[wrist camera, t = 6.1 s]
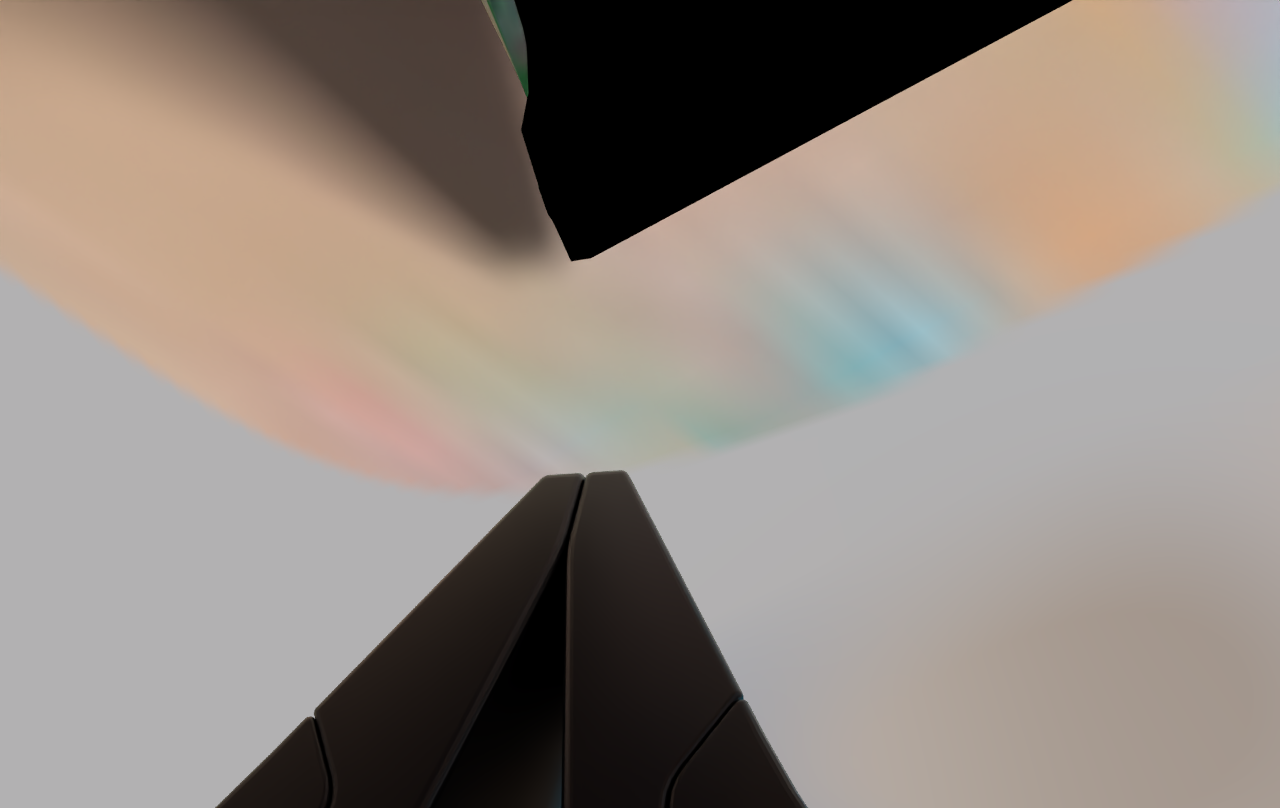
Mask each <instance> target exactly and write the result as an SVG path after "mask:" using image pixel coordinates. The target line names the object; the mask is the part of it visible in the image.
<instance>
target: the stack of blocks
mask: <svg viewBox="0 0 1280 808" xmlns="http://www.w3.org/2000/svg"><path fill="white" fill-rule="evenodd" d="M481 1H482V3H483V5H484V7H485V9H486V11H487V13H488V15H489V18H490V20H491V22H492V24H493V26H494V28H495V30H496V32H497V34H498V36H499V38H500V40H501V42H502V44H503V46H504V49H505V51H506V53H507V55H508V57H509V59H510V61H511V63H512V65H513V67H514V69H515V71H516V73H517V75H518V78H519V80H520V82H521V84H522V87H523V89H524V92H525V94H526V96H527V102H526V107H525V113H524V118H523V123H522V128H521V131H522V135H523V138H524V141H525V144H526V147H527V151H528V154H529V157H530V160H531V163H532V166H533V170H534V173H535V176H536V179H537V182H538V187H539V191H540V193H541V196H542V199H543V202H544V205H545V207H546V210H547V213H548V215H549V216H550V218H551V219H552V221H553V223H554V225H555V227H556V229H557V231H558V234H559V236H560V238H561V240H562V242H563V245H564V247H565V249H566V251H567V253H568V256H569V258H570V260H571V261H576V260H583V259H589V258H592V257H594V256H596V255H598V254H600V253H602V252H603V251H605V250H607V249H609V248H611V247H613V246H615V245H616V244H618V243H620V242H622V241H624V240H626V239H628V238H629V237H631V236H633V235H635V234H637V233H639V232H641V231H643V230H644V229H646V228H648V227H650V226H652V225H654V224H656V223H657V222H659V221H661V220H663V219H665V218H667V217H669V216H670V215H672V214H674V213H676V212H678V211H680V210H682V209H684V208H685V207H687V206H689V205H691V204H693V203H695V202H697V201H698V200H700V199H702V198H704V197H706V196H708V195H710V194H711V193H713V192H715V191H717V190H719V189H721V188H723V187H725V186H726V185H728V184H730V183H732V182H734V181H736V180H738V179H739V178H741V177H743V176H745V175H747V174H749V173H751V172H753V171H754V170H756V169H758V168H760V167H762V166H764V165H766V164H767V163H769V162H771V161H773V160H775V159H777V158H779V157H780V156H782V155H784V154H786V153H788V152H790V151H792V150H794V149H795V148H797V147H799V146H801V145H803V144H805V143H807V142H808V141H810V140H812V139H814V138H816V137H818V136H820V135H821V134H823V133H825V132H827V131H829V130H831V129H833V128H835V127H836V126H838V125H840V124H842V123H844V122H846V121H848V120H849V119H851V118H853V117H855V116H857V115H859V114H861V113H862V112H864V111H866V110H868V109H870V108H872V107H874V106H876V105H877V104H879V103H881V102H883V101H885V100H887V99H889V98H891V97H892V96H894V95H896V94H898V93H900V92H902V91H904V90H906V89H907V88H909V87H911V86H913V85H915V84H917V83H919V82H921V81H922V80H924V79H926V78H928V77H930V76H932V75H934V74H935V73H937V72H939V71H941V70H943V69H945V68H947V67H949V66H950V65H952V64H954V63H956V62H958V61H960V60H962V59H964V58H965V57H967V56H969V55H971V54H973V53H975V52H977V51H979V50H980V49H982V48H984V47H986V46H988V45H990V44H992V43H993V42H995V41H997V40H999V39H1001V38H1003V37H1005V36H1007V35H1008V34H1010V33H1012V32H1014V31H1016V30H1018V29H1020V28H1022V27H1023V26H1025V25H1027V24H1029V23H1031V22H1033V21H1035V20H1037V19H1038V18H1040V17H1042V16H1044V15H1046V14H1048V13H1050V12H1052V11H1053V10H1055V9H1057V8H1059V7H1061V6H1063V5H1065V4H1066V3H1068V2H1070V1H1072V0H481Z"/></svg>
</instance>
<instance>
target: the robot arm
mask: <svg viewBox="0 0 1280 808" xmlns="http://www.w3.org/2000/svg"><path fill="white" fill-rule="evenodd" d="M314 716H315V718H313V717H307V718H305V720H303V721H302V722H301V723H300V725H299V726H298V727H297V728H296V729H295V730H294V731H293V732H292V733H291V734H290V735H289V736H288V737H287V738H286V739H285V740H284V741H283V742H282V743H281V744H280V745H279V746H278V747H277V748H276V749H275V750H274V751H273V752H272V753H271V754H270V755H269V756H268V757H267V758H266V759H265V760H264V761H263V762H262V763H261V764H260V765H259V766H258V767H257V768H256V769H255V770H253V772H251V773H250V774H249V775H248V776H247V777H246V778H245V779H244V780H243V781H242V782H241V783H240V784H239V785H238V786H237V787H236V788H235V789H234V790H233V791H232V792H231V793H230V794H229V795H228V796H227V797H226V798H225V799H224V800H223V801H222V802H221V803H220V804H219V805H218V806H217V807H215V808H808V807H807V806H806V804H805V803H804V801H803V800H802V799H801V797H800V795H799V794H798V792H797V791H796V789H795V787H794V785H793V784H792V782H791V780H790V778H789V777H788V775H787V773H786V771H785V770H784V768H783V767H782V764H781V763H780V761H779V759H778V757H777V756H776V754H775V752H774V750H773V749H772V747H771V745H770V743H769V742H768V740H767V738H766V736H765V734H764V732H763V731H762V729H761V727H760V725H759V723H758V721H757V719H756V717H755V715H754V713H753V712H752V710H751V708H750V706H749V704H748V702H747V701H745V700H744V699H743V694H742V691H741V689H740V688H739V686H738V684H737V682H736V680H735V678H734V676H733V674H732V672H731V670H730V669H729V666H728V665H727V663H726V661H725V659H724V657H723V655H722V653H721V651H720V649H719V647H718V645H717V644H716V642H715V640H714V638H713V636H712V634H711V632H710V630H709V628H708V626H707V624H706V622H705V620H704V618H703V617H702V615H701V613H700V611H699V609H698V607H697V605H696V603H695V602H694V599H693V597H692V596H691V594H690V592H689V590H688V588H687V586H686V584H685V582H684V580H683V578H682V576H681V574H680V572H679V571H678V569H677V567H676V565H675V563H674V561H673V559H672V557H671V555H670V553H669V551H668V549H667V548H666V546H665V544H664V542H663V540H662V538H661V536H660V534H659V532H658V530H657V528H656V526H655V525H654V523H653V521H652V519H651V517H650V515H649V513H648V511H647V509H646V507H645V505H644V503H643V501H642V500H641V498H640V496H639V494H638V492H637V490H636V488H635V486H634V484H633V482H632V480H631V479H630V477H629V475H628V474H627V473H626V472H625V471H622V470H619V471H604V472H592V473H589V474H588V475H587V476H586V478H585V477H584V476H583V475H582V474H580V473H574V474H558V475H547V476H545V477H543V478H542V479H541V480H540V481H539V482H538V483H537V484H536V485H535V486H534V487H533V488H532V489H531V490H530V491H529V492H528V493H527V494H526V495H525V496H524V497H523V498H522V499H521V500H520V501H519V502H518V503H517V504H516V505H515V506H514V507H513V508H512V509H511V510H510V511H509V512H508V513H507V514H506V515H505V516H504V517H503V518H502V519H501V520H500V521H499V522H498V523H497V524H496V526H494V527H493V528H492V529H491V530H490V531H489V533H488V534H487V535H486V536H485V537H484V538H483V539H482V540H481V541H480V542H479V543H478V544H477V545H476V546H475V547H474V548H473V549H472V550H471V551H470V552H469V553H468V554H467V555H466V556H465V557H464V558H463V559H462V560H461V561H460V562H459V563H458V564H457V565H456V566H455V567H454V568H453V569H452V570H451V571H450V572H449V573H448V574H447V575H446V576H445V577H444V578H443V579H442V580H441V581H440V582H439V583H438V584H437V586H435V587H434V589H433V590H432V591H431V592H430V593H429V594H428V595H427V596H426V597H425V598H424V599H423V600H422V601H421V602H420V603H419V604H418V605H417V606H416V607H415V608H414V609H413V610H412V611H411V612H410V613H409V614H408V615H407V616H406V617H405V618H404V619H403V620H402V621H401V622H400V623H399V624H398V625H397V626H396V627H395V628H394V629H393V630H392V631H391V632H390V633H389V634H388V635H387V636H386V637H385V638H384V639H383V640H382V641H381V642H380V643H379V645H378V646H377V647H376V648H375V649H374V650H373V651H372V652H371V653H370V654H369V655H368V656H367V657H366V658H365V659H364V660H363V661H362V662H361V663H360V664H359V665H358V666H357V667H356V668H355V669H354V670H353V671H352V672H351V673H350V674H349V675H348V676H347V677H346V678H345V679H344V680H343V681H342V682H341V683H340V684H339V685H338V686H337V687H336V688H335V689H334V690H333V691H332V692H331V694H329V695H328V697H326V698H325V700H324V701H323V702H322V703H321V704H320V705H319V706H318V707H317V708H316V709H315V711H314Z"/></svg>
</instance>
